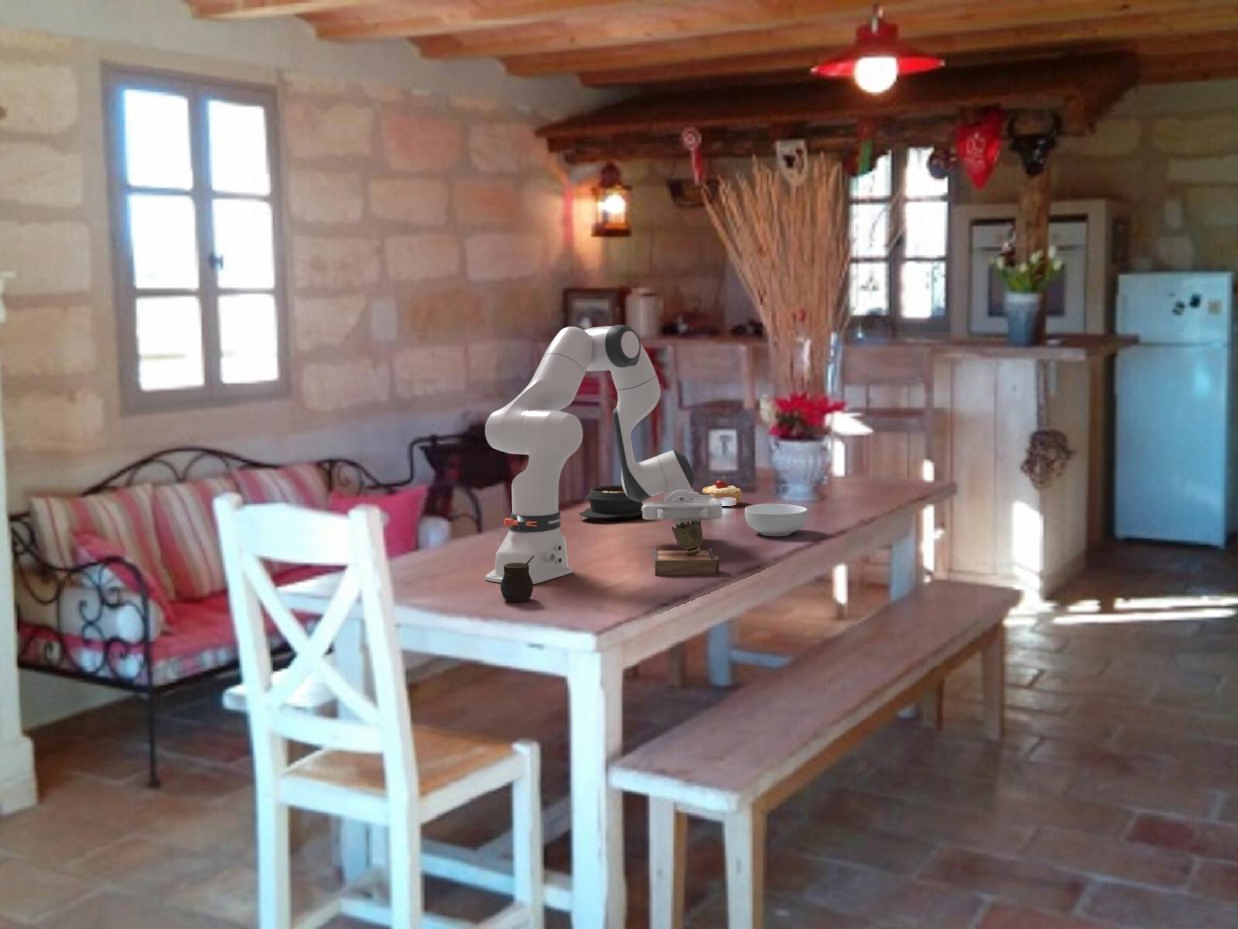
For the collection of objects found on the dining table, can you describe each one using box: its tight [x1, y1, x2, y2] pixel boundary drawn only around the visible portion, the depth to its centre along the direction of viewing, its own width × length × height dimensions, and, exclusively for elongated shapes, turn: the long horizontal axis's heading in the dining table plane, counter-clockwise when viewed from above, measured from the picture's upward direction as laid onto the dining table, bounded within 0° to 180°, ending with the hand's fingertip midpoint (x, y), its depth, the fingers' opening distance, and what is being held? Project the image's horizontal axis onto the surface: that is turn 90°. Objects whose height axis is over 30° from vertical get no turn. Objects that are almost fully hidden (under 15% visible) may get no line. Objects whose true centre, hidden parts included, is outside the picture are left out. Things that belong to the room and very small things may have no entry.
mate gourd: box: [499, 555, 534, 603], centre depth 308 cm, size 7×8×10 cm
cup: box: [671, 520, 704, 556], centre depth 352 cm, size 8×7×8 cm
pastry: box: [701, 474, 743, 506], centre depth 429 cm, size 12×12×9 cm
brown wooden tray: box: [652, 547, 720, 576], centre depth 347 cm, size 32×15×4 cm, turn 179°
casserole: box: [578, 484, 644, 521], centre depth 411 cm, size 25×19×8 cm
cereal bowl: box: [744, 503, 808, 537], centre depth 381 cm, size 17×17×7 cm
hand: (683, 515), depth 350 cm, fingers open, 8 cm apart
